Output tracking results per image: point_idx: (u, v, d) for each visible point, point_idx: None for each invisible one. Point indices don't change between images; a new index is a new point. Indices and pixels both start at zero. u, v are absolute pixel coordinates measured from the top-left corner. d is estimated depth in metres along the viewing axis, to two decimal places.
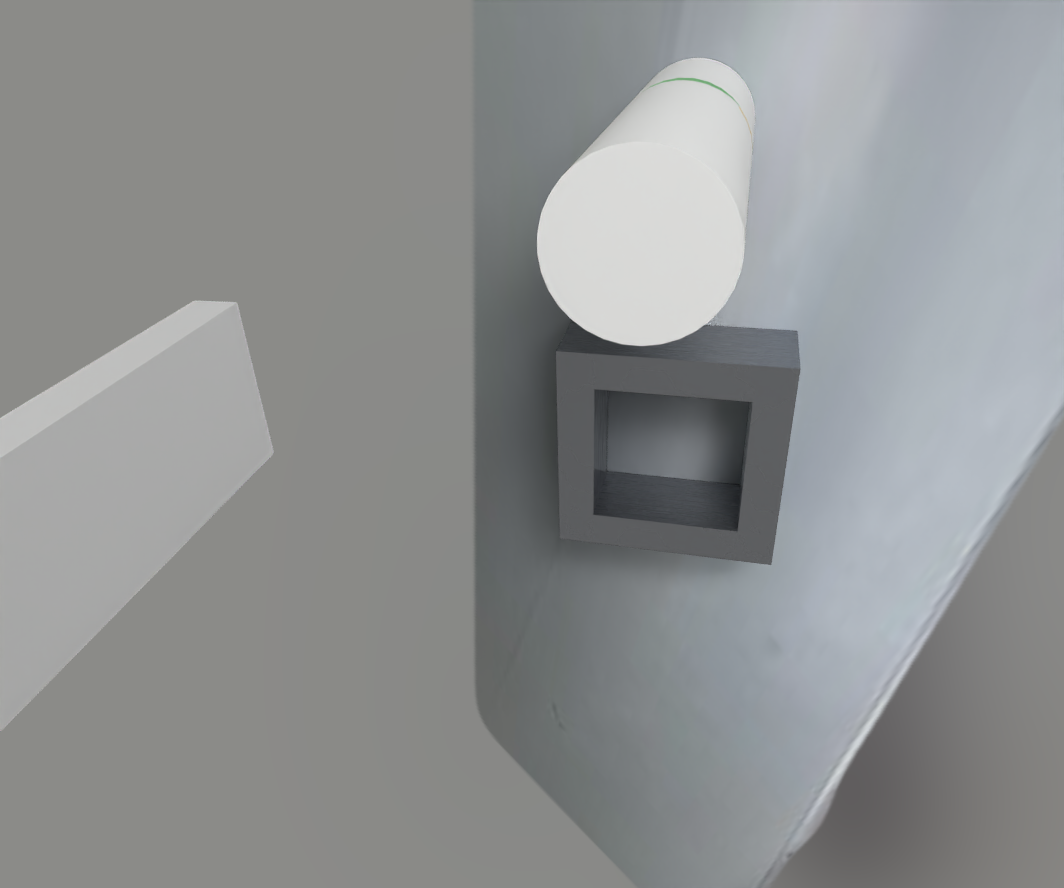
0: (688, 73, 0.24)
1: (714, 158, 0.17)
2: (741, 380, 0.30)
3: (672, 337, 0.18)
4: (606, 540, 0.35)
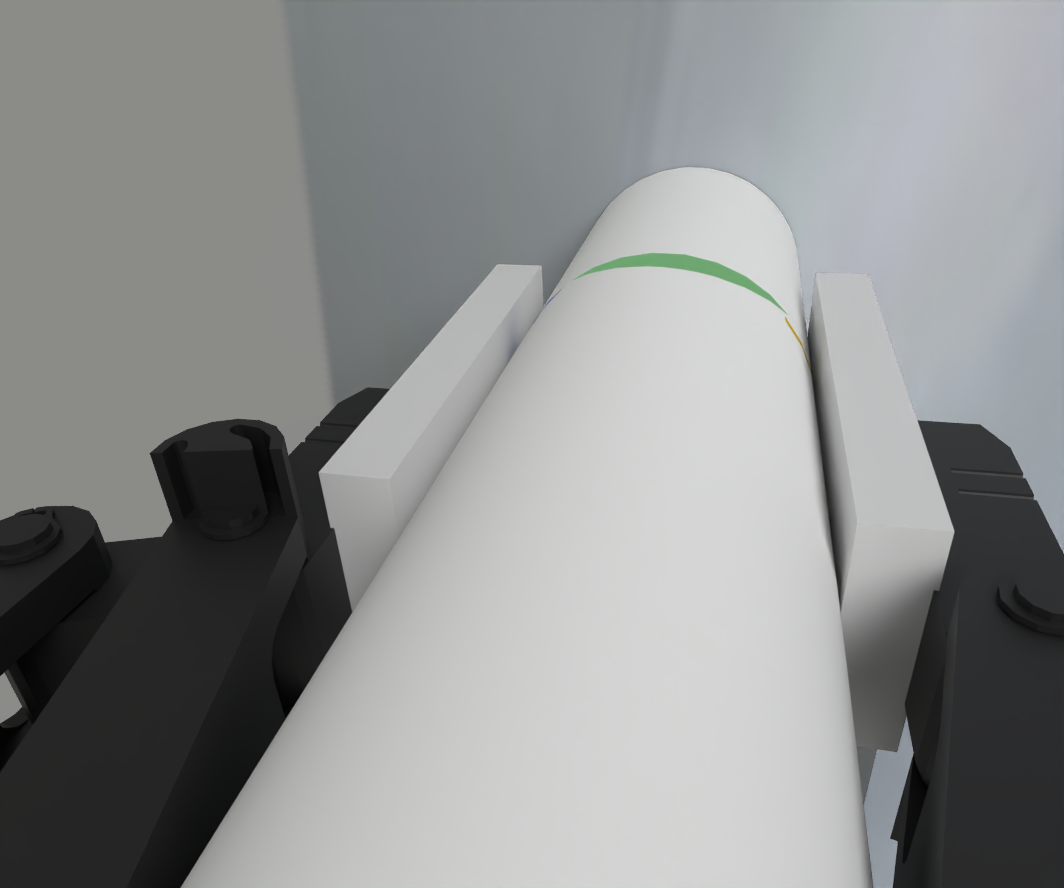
0: (673, 232, 0.12)
1: None
2: None
3: None
4: None
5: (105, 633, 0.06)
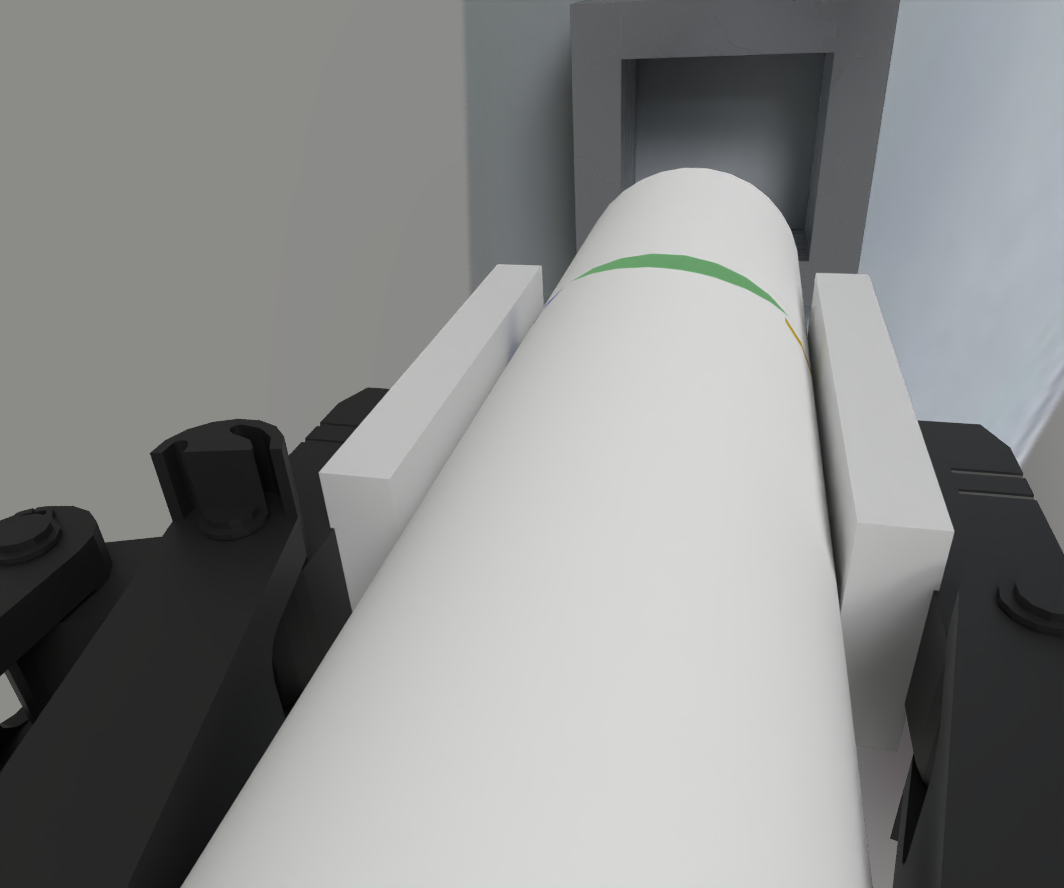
0: (673, 232, 0.12)
1: None
2: (819, 18, 0.22)
3: None
4: None
5: (105, 633, 0.06)
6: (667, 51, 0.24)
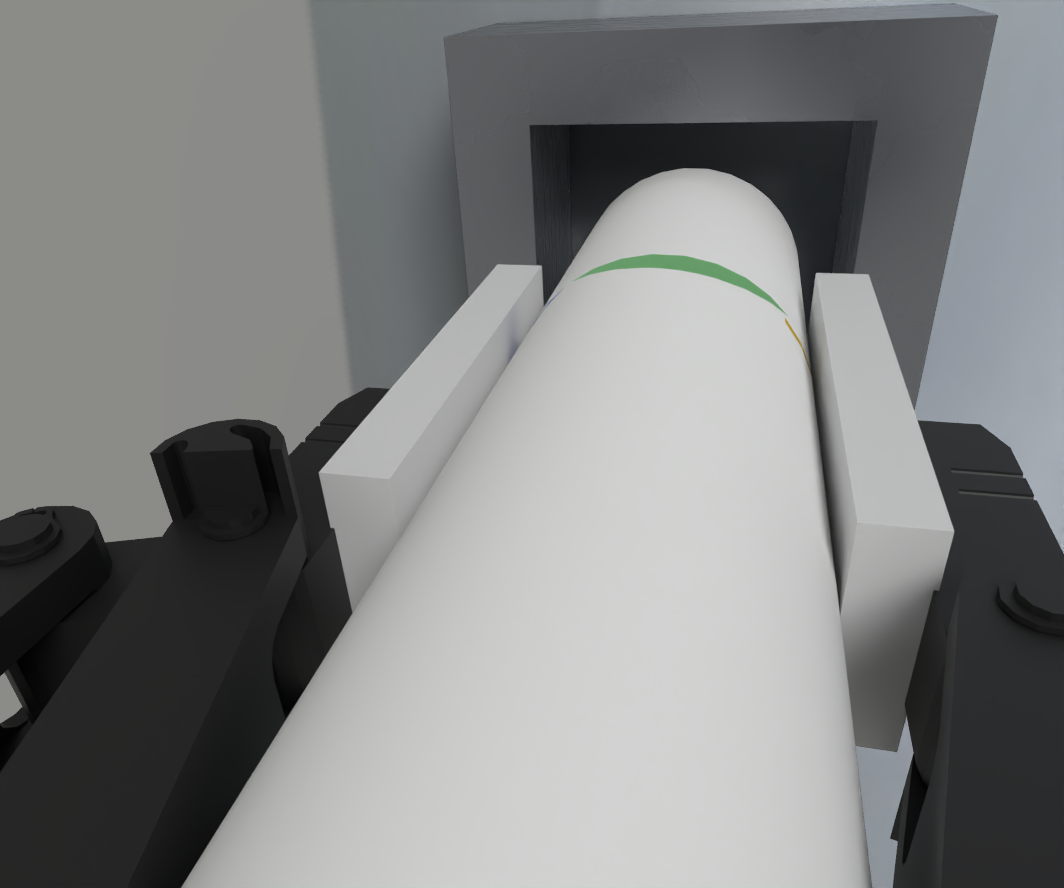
0: (673, 233, 0.12)
1: None
2: (853, 64, 0.13)
3: None
4: None
5: (105, 633, 0.06)
6: (602, 114, 0.15)
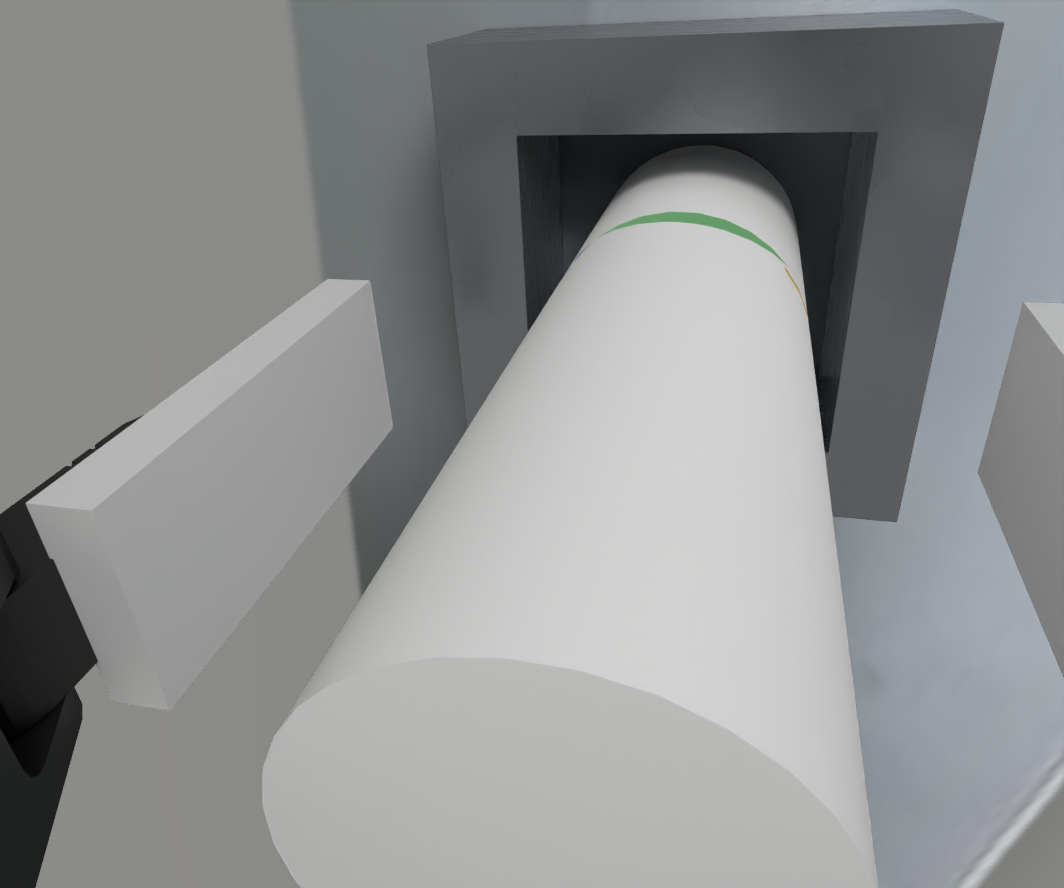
0: (687, 196, 0.13)
1: (775, 631, 0.05)
2: (853, 74, 0.13)
3: None
4: None
5: None
6: (592, 124, 0.14)
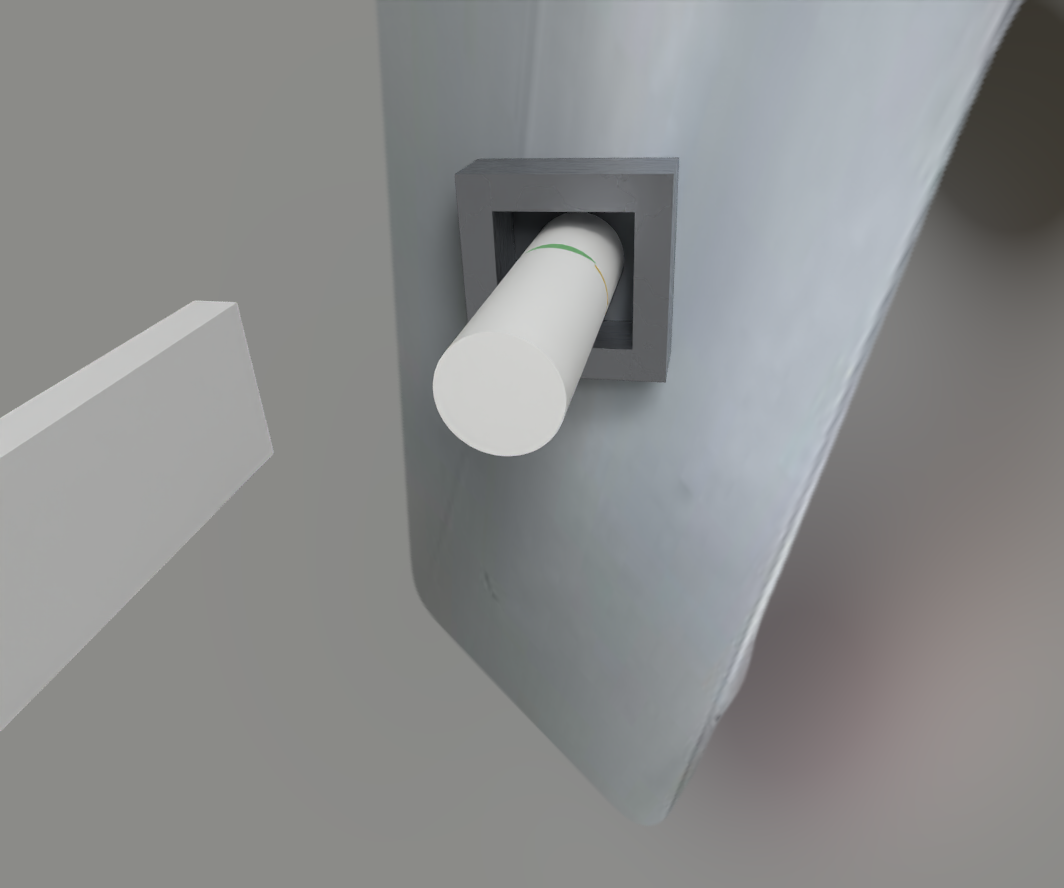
0: (560, 237, 0.33)
1: (546, 336, 0.25)
2: (622, 190, 0.33)
3: (526, 451, 0.26)
4: None
5: None
6: (523, 207, 0.34)
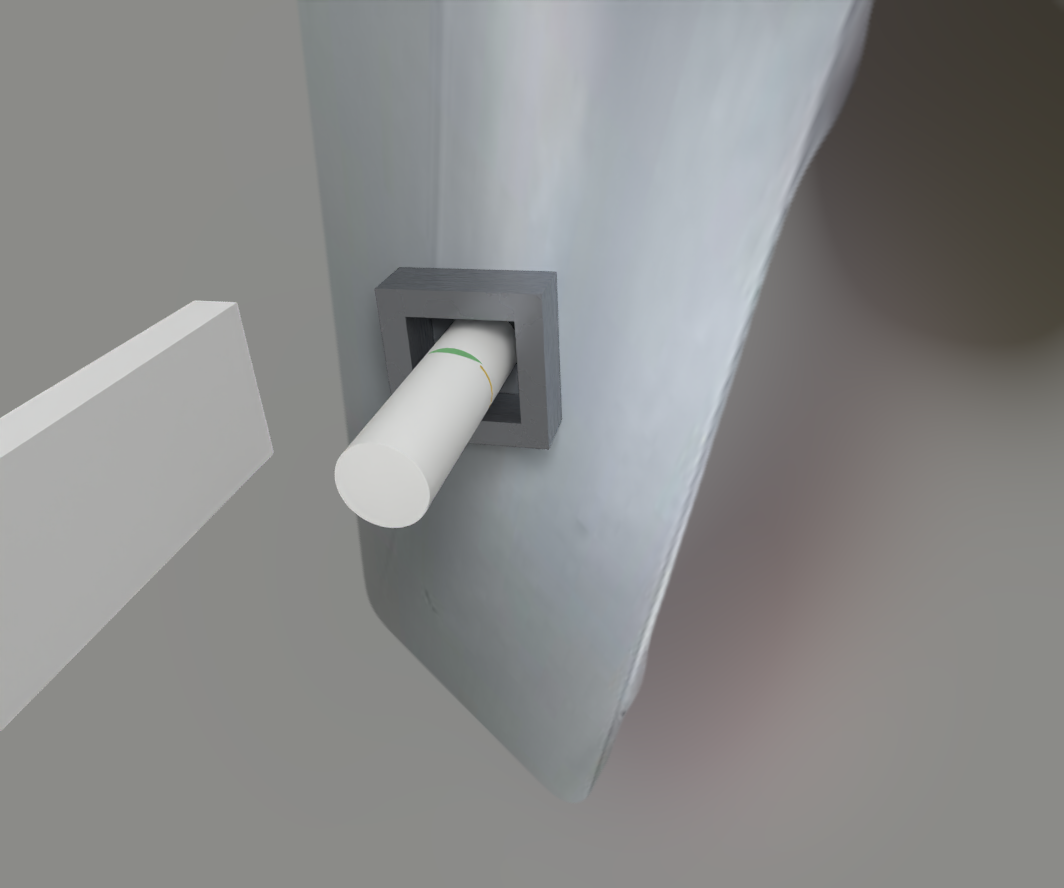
0: (456, 340, 0.42)
1: (416, 443, 0.34)
2: (504, 305, 0.41)
3: (405, 524, 0.35)
4: None
5: None
6: (428, 314, 0.43)
